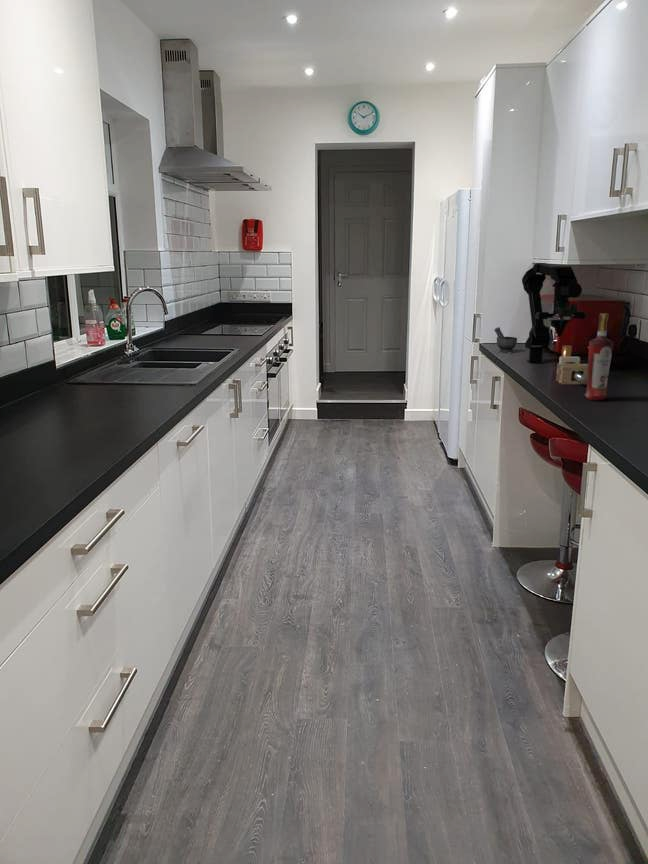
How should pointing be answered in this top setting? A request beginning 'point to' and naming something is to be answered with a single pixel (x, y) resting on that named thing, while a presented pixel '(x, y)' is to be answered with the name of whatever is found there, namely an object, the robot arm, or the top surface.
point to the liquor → (599, 362)
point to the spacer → (569, 360)
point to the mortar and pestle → (505, 341)
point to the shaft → (567, 353)
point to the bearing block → (566, 371)
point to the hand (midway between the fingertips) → (559, 337)
